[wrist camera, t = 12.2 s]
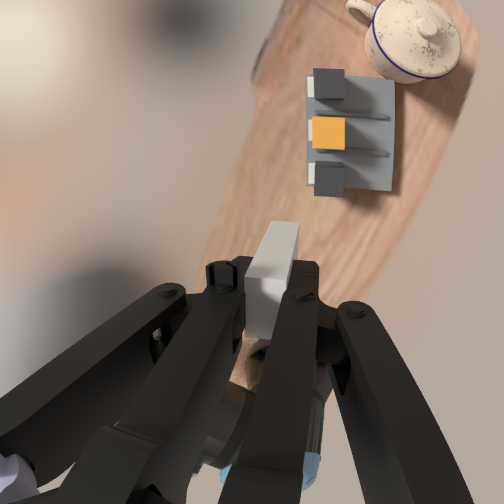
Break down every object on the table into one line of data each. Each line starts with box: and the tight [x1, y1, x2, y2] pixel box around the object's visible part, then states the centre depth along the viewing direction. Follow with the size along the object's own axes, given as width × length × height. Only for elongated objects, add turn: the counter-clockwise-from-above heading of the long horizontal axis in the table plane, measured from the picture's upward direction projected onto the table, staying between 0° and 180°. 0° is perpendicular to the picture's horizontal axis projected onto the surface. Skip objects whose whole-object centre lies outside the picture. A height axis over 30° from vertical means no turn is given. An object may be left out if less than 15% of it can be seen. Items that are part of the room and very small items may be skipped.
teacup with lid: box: [346, 0, 461, 84], centre depth 22 cm, size 12×9×12 cm
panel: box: [305, 68, 395, 197], centre depth 30 cm, size 13×10×6 cm
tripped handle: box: [312, 117, 345, 150], centre depth 30 cm, size 3×3×5 cm
